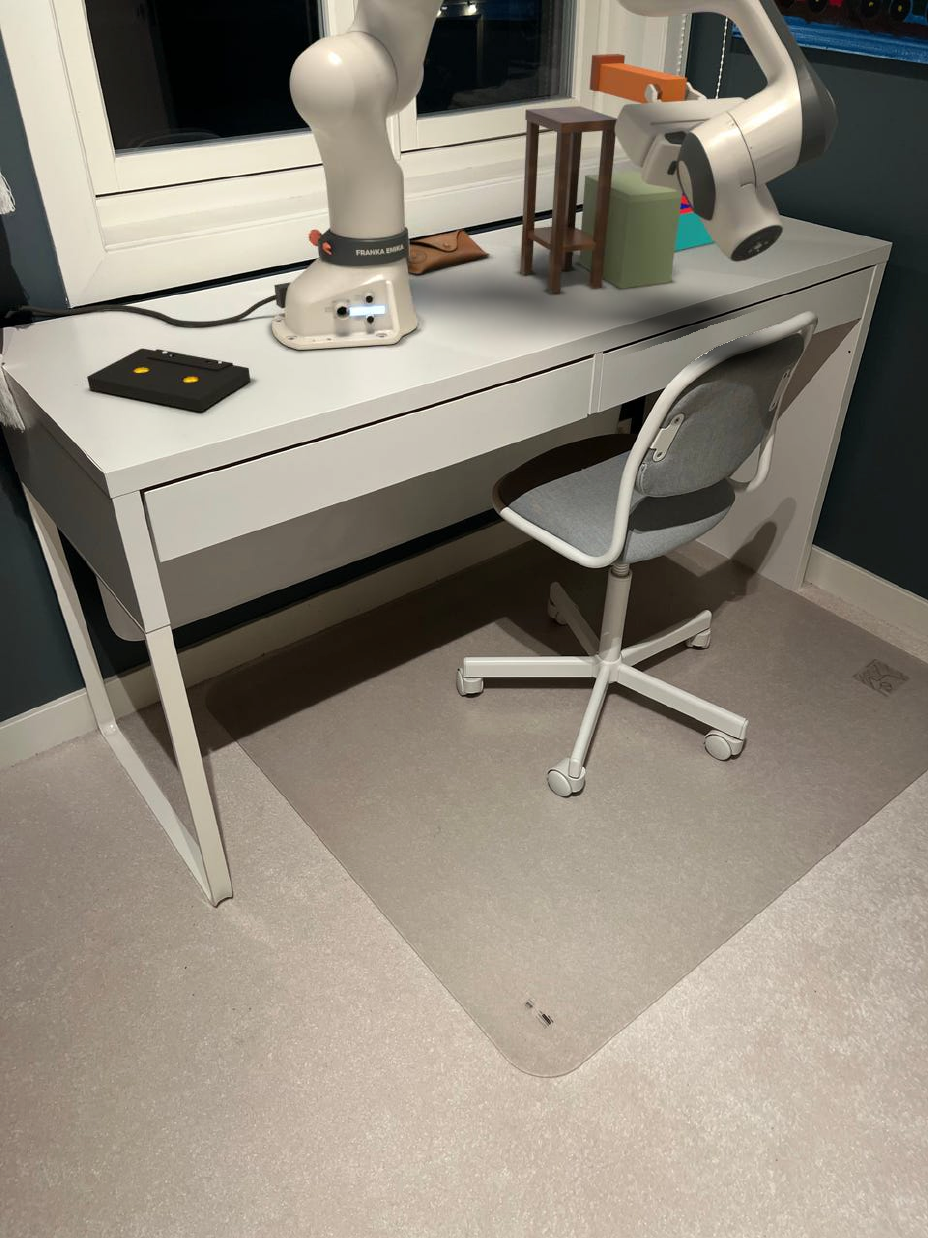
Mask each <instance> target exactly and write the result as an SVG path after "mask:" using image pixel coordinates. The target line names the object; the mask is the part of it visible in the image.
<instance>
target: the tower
mask: <svg viewBox="0 0 928 1238" xmlns="http://www.w3.org/2000/svg"><path fill="white" fill-rule="evenodd" d="M625 58H626V55H625V54H620V53H607V54H606V53H605V54H592V55H591V64H590V77H589V90H590V91H594V92H599V93H603V94H607V95H611V96H614V97H617V98H621V99H624V100H627V101H628V100H629V101H631V102H636V103H637V104H643V103H648V101H647V99H646V98H645V91H646V88H647V86H648V85H649V84H658V85H659V87H660V88H661V90H662V93H661V96H660V97H659V100H661V101H662V102H674V101H684V99H685V92H686V84H687V82H688V78H687V77H683V76H679V75H675V74H671V73H666V72H662V71H657V70H653V69H649V68H644V67H640V66H637V65H632V64H627V63H625Z"/></svg>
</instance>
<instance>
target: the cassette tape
mask: <svg viewBox="0 0 928 1238" xmlns="http://www.w3.org/2000/svg"><path fill="white" fill-rule="evenodd" d="M86 379H87V384H88V387H89V390H93V391H98V392H103V393H108V394H112V395H117V396H121V397H127V398H132V399H137V400H141V401H145V402H151V403H157V404H161V405H166V406H171V407H176V408H181V409H185V410H191V411H196V412H203V411H205V410H206V409H208V408H210V407H211V406H212V405H214V404H215V403H217V402H218V401H220V400H221V399H223V398H225V397H226V396H228V395H229V394H231V393H232V392H234V391H235V390H237V389H239V388H240V387H242V386H243V385H245V384H246V383H248V382H249V381H251V375H250V368H249V367H245V366H240V365H235V364H233V362H229V361H224V360H219V359H213V358H209V357H203V356H202V357H201V356H197V355H192V354H186V353H182V352H175V351H170V350H164V349H160V348H159V349H158V348H156V349H155V350H153V349H148V348H139V349H137V350H135V351H134V352H132V353H130V354H128V355H126V356H124V357H121V358H120V359H118V360H116V361H114V362H112V363H110V364H109V365H107V366H105V367H103V368H101V369H99V370H97V371H95V372H93V373H91V374H90V375H88V376H87V377H86Z"/></svg>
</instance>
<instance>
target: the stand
mask: <svg viewBox="0 0 928 1238" xmlns="http://www.w3.org/2000/svg"><path fill="white" fill-rule="evenodd" d="M524 116H525V117H524V120H525V121H526V126H525V128H526V129H525V149H524V150H525V153H524V176H523V178H524V179H523V203H522V223H521V224H522V225H521V244H520V245H521V248H520V271H519V273H520V274H522V275H523V276H529V275H533V263H534V262H533V261H534V243H537V244H538V245H540V246H542V247H543V248H544V249H547V250H548V251H549V258H548V259H549V260H548V261H549V262H548V275H547V276H548V278H547V292H548V293H549V294H551V295H556V294H560V293H561V284H562V283H561V282H562V271H572V270H573V261H574V252H579V251H582V250H591V249H592V259H591V271H590V270H589V272H590V273H589V284H588V285H589V287H590V288H592V289H600V288H601V289H602V287H603V286H602V285H603V278H602V277H603V266H604V255H605V245H606V234H607V223H608V212H609V202H610V191H611V180H612V173H613V170H614V169H613V168H614V156H615V148H616V147H615V146H616V145H615V144H616V138H617V137H616V134H615V124H616V121H617V118H616V117H613V116H611V115H608V114H604V113H601V112H598V111H595V110H592V109H589V108H587V107H583V106H580V105H579V106H564V107H563V106H561V107H545V108H532V109H531V108H530V109H525V115H524ZM540 127H542V128H545V129H548V130H550V131H553V132H556V140H555V141H556V144H555V161H554V175H553V177H554V178H553V192H552V195H553V196H552V209H551V211H552V212H551V226H543V227H535V223H536V222H535V221H536V202H537V201H536V200H537V185H538V184H537V182H538V162H539V144H540V143H539V141H540V140H539V139H540ZM591 132H593V133H594V132H601V143H600V155H599V166H598V167H599V168H598V174H599V177H598V189H597V201H596V212H595V224H594V236H593V237H592V236H591V235H589V234H587V233H585V232H583V231H581V229H579V228H577V227H576V221H577V208H578V194H579V181H580V167H581V166H580V165H581V152H582V139H583V133H591Z"/></svg>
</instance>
